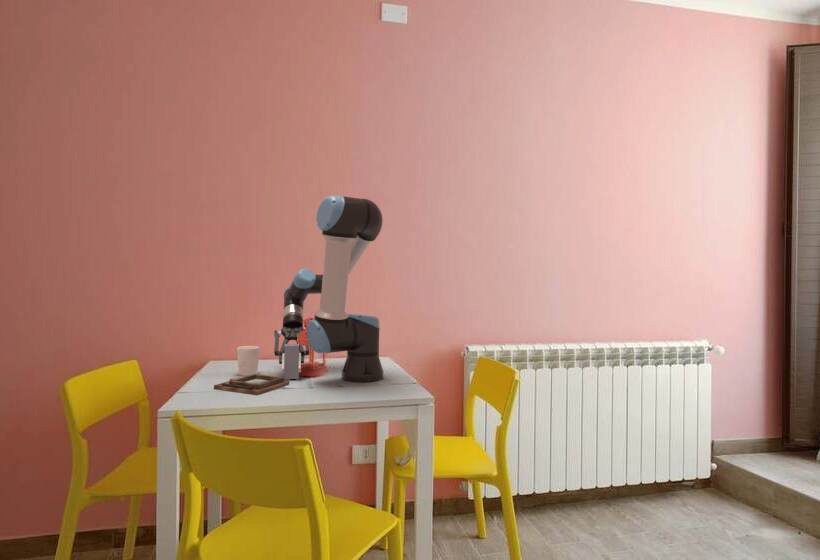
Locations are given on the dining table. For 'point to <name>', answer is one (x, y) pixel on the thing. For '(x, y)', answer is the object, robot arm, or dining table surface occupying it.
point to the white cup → (248, 360)
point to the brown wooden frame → (252, 384)
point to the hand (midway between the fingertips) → (291, 370)
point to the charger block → (291, 361)
